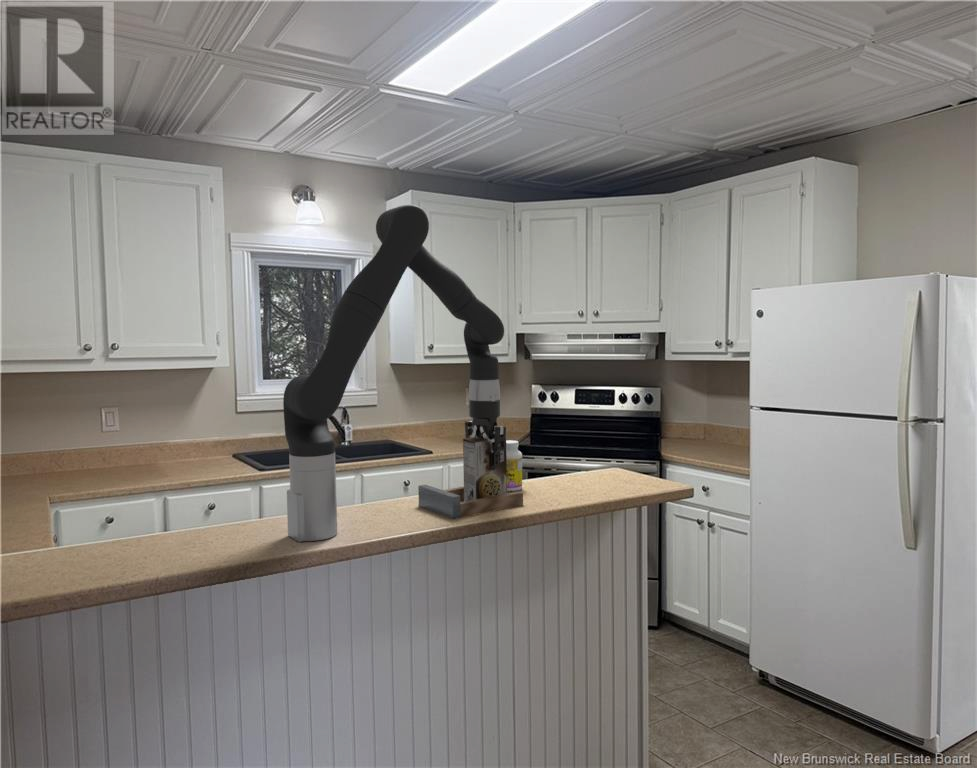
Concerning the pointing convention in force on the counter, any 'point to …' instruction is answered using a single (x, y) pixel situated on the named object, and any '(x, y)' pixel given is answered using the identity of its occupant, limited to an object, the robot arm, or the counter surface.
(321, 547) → the counter surface
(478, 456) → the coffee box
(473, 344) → the robot arm
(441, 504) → the bar
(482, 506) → the guide rails
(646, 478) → the counter surface
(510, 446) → the supplement bottle
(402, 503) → the counter surface
